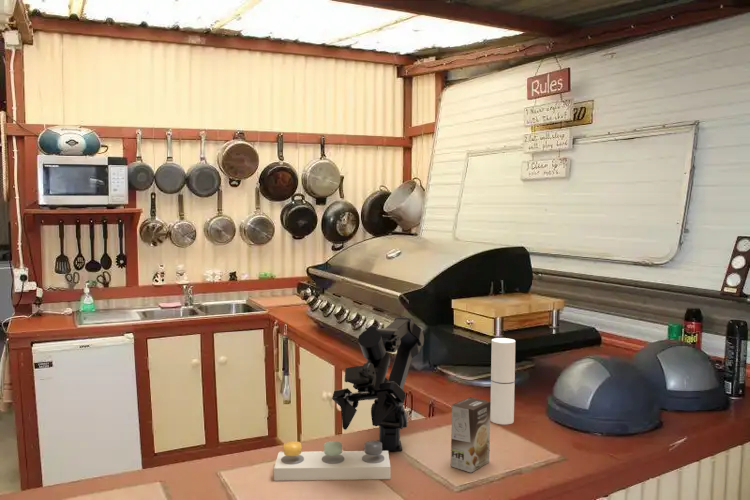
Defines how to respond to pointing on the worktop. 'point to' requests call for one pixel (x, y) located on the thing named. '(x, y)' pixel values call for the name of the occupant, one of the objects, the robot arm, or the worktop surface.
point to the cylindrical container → (502, 380)
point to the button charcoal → (373, 447)
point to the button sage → (333, 448)
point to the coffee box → (470, 434)
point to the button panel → (332, 466)
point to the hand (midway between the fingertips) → (359, 427)
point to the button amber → (292, 448)
